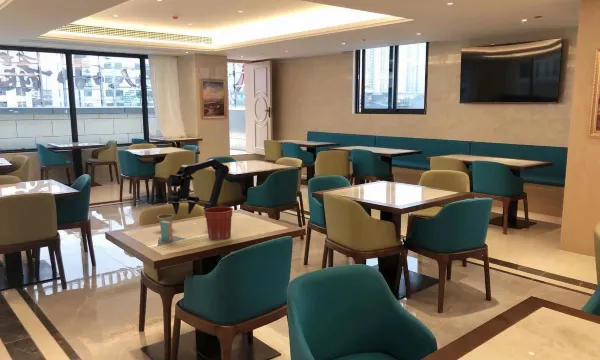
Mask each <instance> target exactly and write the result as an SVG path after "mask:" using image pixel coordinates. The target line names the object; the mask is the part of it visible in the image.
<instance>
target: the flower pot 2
mask: <svg viewBox="0 0 600 360" xmlns="http://www.w3.org/2000/svg"><path fill="white" fill-rule="evenodd" d="M233 211H234V208H233V207H231V206H218V207H212V208H207V209H205V210H204V209H203V213H204V212H205V213H204V217H205V221H206V228H207V235H208V238H209V239H210V240H212V241H220V240H227V239H230V238H231V235H232V234H231V233H232V216H233Z"/></svg>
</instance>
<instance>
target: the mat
mask: <svg viewBox="0 0 600 360" xmlns="http://www.w3.org/2000/svg"><path fill="white" fill-rule="evenodd" d="M172 236H173V240H171V241H167V240H163V239H162V237H158V238H159V240H158V245H157V246H158V247H161V246H164V245H169V244H172V243H176V242H179V241H183V240H186V238H184V237H181V236H175V235H173V234H172Z"/></svg>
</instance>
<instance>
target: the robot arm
mask: <svg viewBox="0 0 600 360" xmlns="http://www.w3.org/2000/svg"><path fill="white" fill-rule="evenodd" d="M207 168H212V169H213V170H214V176H215V177H214V178H215V179H214V183H213V187H212V189H211V190H212V191H211V194H210V198H209V201H207V202H205V203H204V207H203V210H205V209H207V208H212V207H219V204H218V202H219V197H220V195H221V190H222V187H223V184H224V181H225V179H226V178H227V177H228V175H229V172H230V168H229V166H228V165H226V164H223V163H222V162H220V161H218V160H217V159H215V158H210V159H207V160H204V161H200V162H196V163H193V164H192V163H191V164H182V165H180V166H179V170H178V171H177V172H176V173H175V174H169V176H168V177H167V179H166V185H167V187H170V188H171V187H172V188H173V187H176V188H177V190H176V191H175V190H174V189H173V190H172V189H171V190H170V191H169V192H170V193H169V194H170V195H169V196H168V197H167V202H169V203H170V204H171V205H172V206H173V211H174V214H175V215H178V213H179V208H180V207H179V206H180V201H181V202H182V201H184V202H185V201H187V204H188V206H187V207H188V208H187V214H189V215H190V214H191V212H192V211H193V210H194V207H195V206H196V205H197V204H198V203H199V202H200V198H199V197H198V196H194V195H190V193H191V192H192V189H191V188H190V187H191V180H192V181H194V179H195V178H194V177H193V176H192V175H194V174H195V173H196V172H197V171H200V170H204V169H207ZM203 213H204V214H205V212H204V211H203Z"/></svg>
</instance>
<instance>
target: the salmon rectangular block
mask: <svg viewBox="0 0 600 360" xmlns="http://www.w3.org/2000/svg"><path fill="white" fill-rule="evenodd" d="M160 224H161V227H160V236H161V237H162V239H163V240H167V241H171V240H173V236H174V235H173V221H172V222H168V221H161V222H159V225H160ZM172 235H173V236H172Z"/></svg>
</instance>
